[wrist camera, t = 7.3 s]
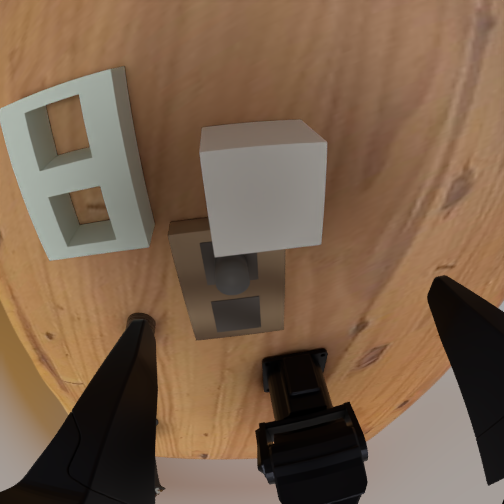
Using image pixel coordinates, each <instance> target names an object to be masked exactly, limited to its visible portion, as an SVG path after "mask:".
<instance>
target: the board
mask: <svg viewBox="0 0 504 504" xmlns="http://www.w3.org/2000/svg"><path fill="white" fill-rule="evenodd" d="M168 239H169V243H170V247H171V251H172V255H173V259H174V263H175V267H176V271H177V274H178V278H179V282H180V286H181V289H182V293H183V297H184V300H185V304H186V307H187V311H188V314H189V318H190V321H191V324H192V328H193V331H194V334H195V338H196V340H205V339H215V338H224V337H232V336H241V335H249V334H257V333H264V332H271V331H278V330H284V298H285V249H281V250H272V251H264V252H256V253H248V254H239V255H231V256H223V257H215V256H214V250H213V244H212V237H211V231H210V224H209V218H200V219H192V220H184V221H176V222H170V225H169V231H168Z"/></svg>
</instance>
